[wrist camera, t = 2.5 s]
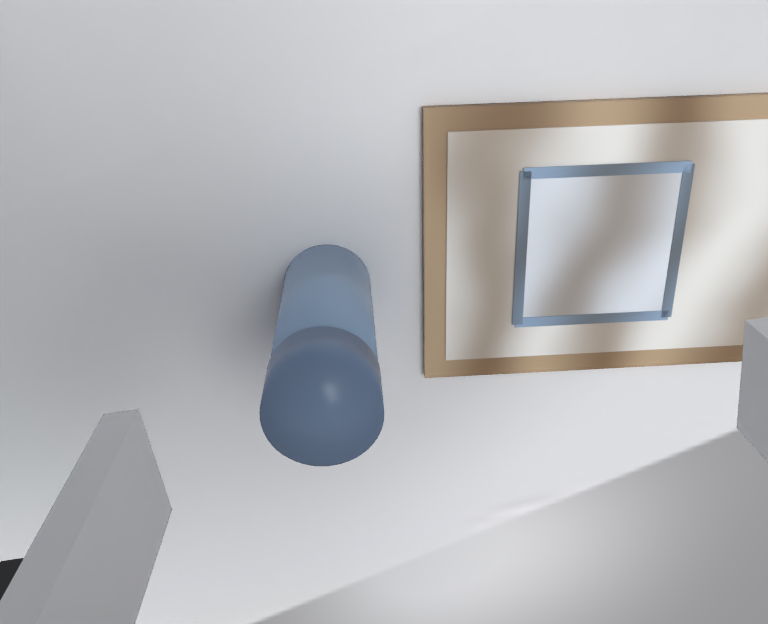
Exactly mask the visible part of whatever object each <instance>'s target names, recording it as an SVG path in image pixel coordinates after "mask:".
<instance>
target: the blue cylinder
mask: <svg viewBox="0 0 768 624" xmlns="http://www.w3.org/2000/svg"><path fill="white" fill-rule="evenodd" d="M383 421H384V405H383V395H382V385H381V375H380V367H379V363H378V358H377V347H376V337H375V326H374V316H373V305H372V295H371V284H370V277H369V273H368V270H367V268H366V266H365V265H364V263H363V262H362V260H361V259H360V258H359V257H358V256H357V255H355V254H354V253H353V252H351V251H349V250H348V249H345V248H343V247H340V246H336V245H318V246H314V247H311V248H309V249H307V250H305V251H303V252H302V253H300V254H299V255H298V256H297V257H296V258H295V259H294V260H293V261H292V262H291V264H290V266H289V267H288V270H287V272H286V276H285V281H284V287H283V292H282V298H281V303H280V309H279V314H278V320H277V325H276V331H275V336H274V342H273V347H272V353H271V358H270V360H269V364H268V367H267V373H266V378H265V383H264V389H263V394H262V400H261V405H260V422H261V426H262V429H263V432H264V434H265V436H266V438H267V439H268V441H269V442H270V443H271V444H272V446H273V447H274V448H275V449H276V450H278V451H279V452H280V453H281V454H283V455H284V456H286V457H288V458H290V459H292V460H294V461H296V462H299V463H302V464H307V465H312V466H331V465H337V464H342V463H345V462H348V461H350V460H352V459H354V458H356V457H358V456H359V455H361V454H363V453H364V452H365V451H366V450H368V449H369V448H370V446H371V445H372V444H373V443H374V442H375V440H376V439H377V437H378V436H379V434H380V432H381V429H382V426H383Z"/></svg>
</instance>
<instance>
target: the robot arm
mask: <svg viewBox="0 0 768 624" xmlns="http://www.w3.org/2000/svg"><path fill="white" fill-rule="evenodd" d="M737 429H738V430H739V431H740V432H741V433H742V434H743V435H744V436H745V438H746V439H747V440H748V441H749V442H750V443H751V444H752V446H753V447H754V448H755V449H756V450H757V451H758V452H759V454H760V455H761V456H762V457H763V458H764V459H765V460H766V461H767V463H768V317H764V318H757V319H750V320H745V331H744V343H743V356H742V368H741V380H740V393H739V405H738V417H737ZM171 511H172V508H171V505H170V502H169V499H168V496H167V493H166V490H165V487H164V484H163V481H162V478H161V475H160V472H159V469H158V466H157V463H156V460H155V457H154V454H153V451H152V448H151V445H150V442H149V439H148V436H147V433H146V430H145V427H144V424H143V421H142V418H141V415H140V412H139V409H136V410H129V411H122V412H116V413H109V414H103V416H102V418H101V420H100V422H99V424H98V425H97V427H96V429H95V431H94V433H93V434H92V436H91V438H90V440H89V442H88V443H87V445H86V447H85V449H84V451H83V452H82V454H81V456H80V458H79V460H78V461H77V463H76V465H75V467H74V469H73V470H72V472H71V474H70V476H69V478H68V479H67V481H66V483H65V485H64V487H63V488H62V490H61V492H60V494H59V496H58V497H57V499H56V501H55V503H54V505H53V506H52V508H51V510H50V512H49V514H48V516H47V517H46V519H45V521H44V523H43V525H42V526H41V528H40V530H39V532H38V534H37V535H36V537H35V539H34V541H33V543H32V544H31V546H30V548H29V550H28V552H27V553H26V555H25V557H24V558H21V559H14V560H7V561H1V562H0V624H135V622H136V619H137V616H138V613H139V609H140V606H141V603H142V600H143V597H144V594H145V591H146V588H147V585H148V582H149V579H150V576H151V573H152V569H153V566H154V563H155V560H156V557H157V554H158V551H159V548H160V545H161V542H162V539H163V536H164V533H165V529H166V526H167V523H168V520H169V517H170V514H171Z"/></svg>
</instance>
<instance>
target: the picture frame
mask: <svg viewBox="0 0 768 624" xmlns="http://www.w3.org/2000/svg"><path fill="white" fill-rule="evenodd" d="M423 280H424V375H425V378H433V377H452V376H472V375H491V374H510V373H529V372H548V371H567V370H586V369H605V368H624V367H643V366H662V365H681V364H700V363H719V362H738V361H742V356H743V343H744V331H745V320H750V319H757V318H764V317H768V93H748V94H723V95H697V96H671V97H645V98H619V99H593V100H568V101H542V102H516V103H490V104H464V105H438V106H423Z"/></svg>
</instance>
